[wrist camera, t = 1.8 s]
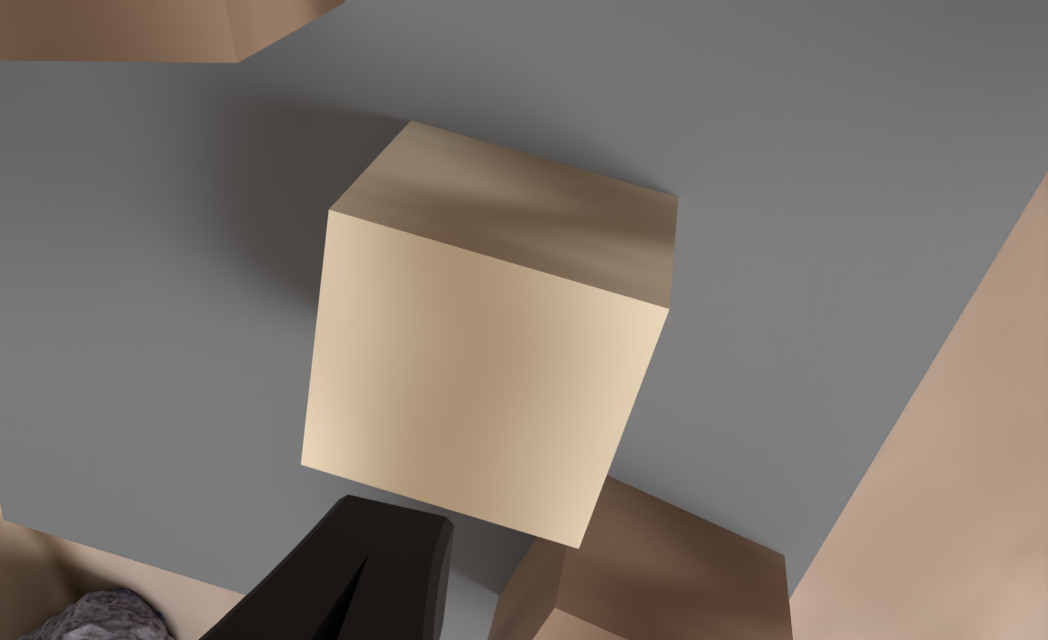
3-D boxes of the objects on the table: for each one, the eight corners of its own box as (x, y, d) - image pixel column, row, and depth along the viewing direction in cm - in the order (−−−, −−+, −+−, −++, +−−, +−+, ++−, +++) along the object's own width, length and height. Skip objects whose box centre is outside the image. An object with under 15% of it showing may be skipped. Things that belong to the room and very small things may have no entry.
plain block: (678, 196, 15) (669, 309, 12) (603, 409, 18) (578, 548, 15) (410, 119, 16) (328, 209, 12) (376, 341, 18) (300, 464, 15)
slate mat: (1367, -390, 10) (1389, -396, 10) (706, 723, 23) (705, 737, 23) (-174, -782, 11) (-202, -800, 11) (13, 509, 24) (3, 519, 24)
